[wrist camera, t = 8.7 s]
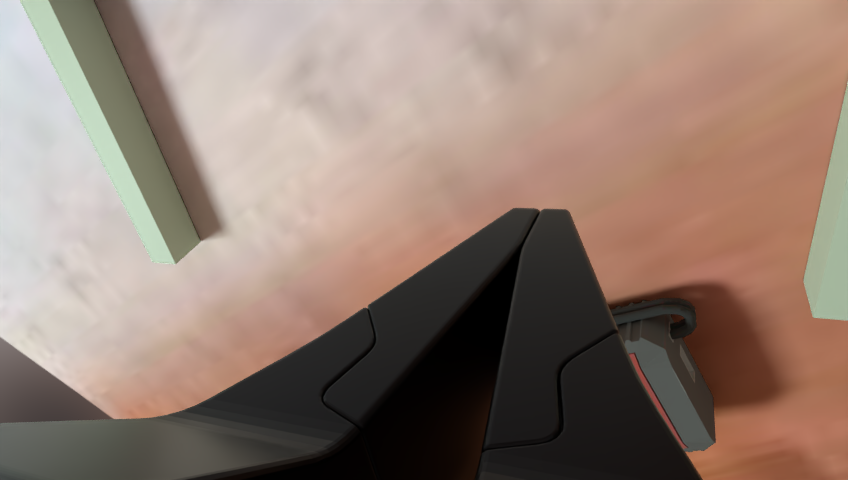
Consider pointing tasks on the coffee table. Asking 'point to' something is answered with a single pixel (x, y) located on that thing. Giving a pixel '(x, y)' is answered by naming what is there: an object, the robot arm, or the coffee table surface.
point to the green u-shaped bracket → (165, 211)
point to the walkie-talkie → (669, 367)
